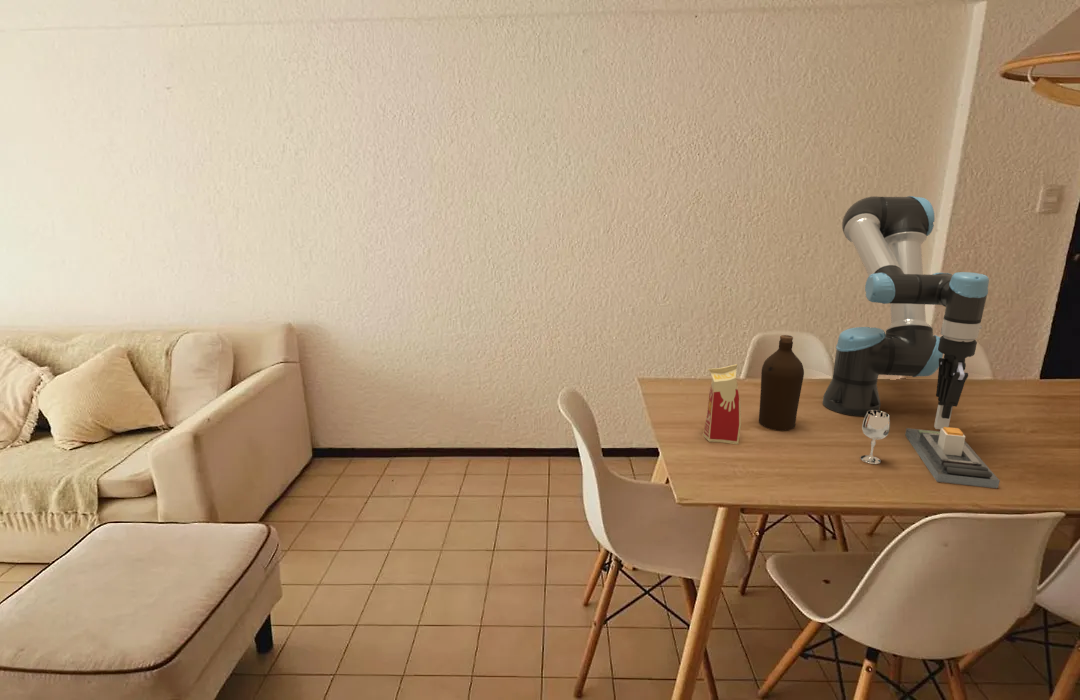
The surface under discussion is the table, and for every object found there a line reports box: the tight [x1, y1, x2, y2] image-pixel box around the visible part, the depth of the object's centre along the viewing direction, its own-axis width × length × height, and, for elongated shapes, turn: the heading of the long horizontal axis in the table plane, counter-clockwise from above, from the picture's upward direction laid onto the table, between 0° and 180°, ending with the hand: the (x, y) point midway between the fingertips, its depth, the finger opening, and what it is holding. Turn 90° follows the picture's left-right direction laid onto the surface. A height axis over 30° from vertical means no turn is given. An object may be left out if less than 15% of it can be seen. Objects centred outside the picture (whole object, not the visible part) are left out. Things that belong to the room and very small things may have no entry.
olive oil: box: [758, 334, 805, 432], centre depth 169 cm, size 11×11×25 cm
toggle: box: [938, 426, 966, 456], centre depth 151 cm, size 4×4×6 cm
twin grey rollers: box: [943, 463, 992, 478], centre depth 141 cm, size 9×4×1 cm, turn 75°
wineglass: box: [859, 410, 891, 465], centre depth 151 cm, size 6×6×12 cm
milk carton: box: [702, 363, 742, 445], centre depth 163 cm, size 9×9×20 cm
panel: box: [904, 427, 1001, 489], centre depth 152 cm, size 12×26×3 cm, turn 165°
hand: (940, 428), depth 158 cm, fingers closed
